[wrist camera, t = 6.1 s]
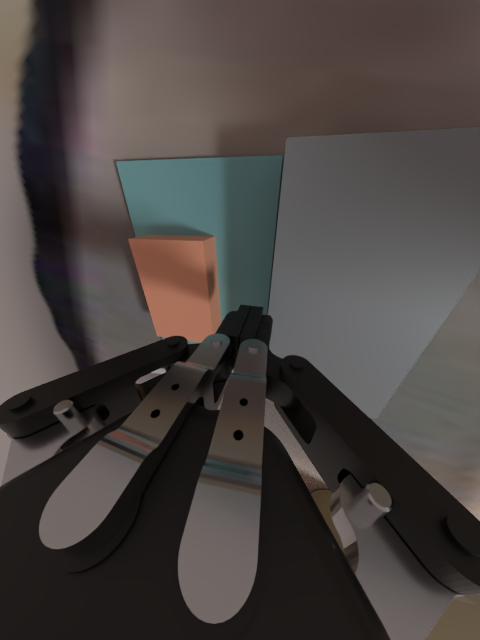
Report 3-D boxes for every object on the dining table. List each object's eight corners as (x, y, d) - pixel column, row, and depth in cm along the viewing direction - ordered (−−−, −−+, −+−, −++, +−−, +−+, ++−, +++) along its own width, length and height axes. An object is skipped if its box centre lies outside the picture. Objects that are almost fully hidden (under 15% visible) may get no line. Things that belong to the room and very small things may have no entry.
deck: (484, 149, 10) (583, 120, 6) (361, 382, 19) (376, 419, 16) (288, 156, 12) (286, 137, 8) (264, 364, 21) (259, 394, 18)
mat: (283, 156, 12) (282, 154, 11) (262, 364, 21) (261, 367, 21) (120, 162, 14) (115, 161, 14) (167, 347, 24) (165, 349, 23)
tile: (127, 238, 14) (148, 234, 16) (157, 336, 19) (170, 323, 21) (202, 241, 13) (215, 236, 15) (213, 344, 17) (221, 330, 19)
